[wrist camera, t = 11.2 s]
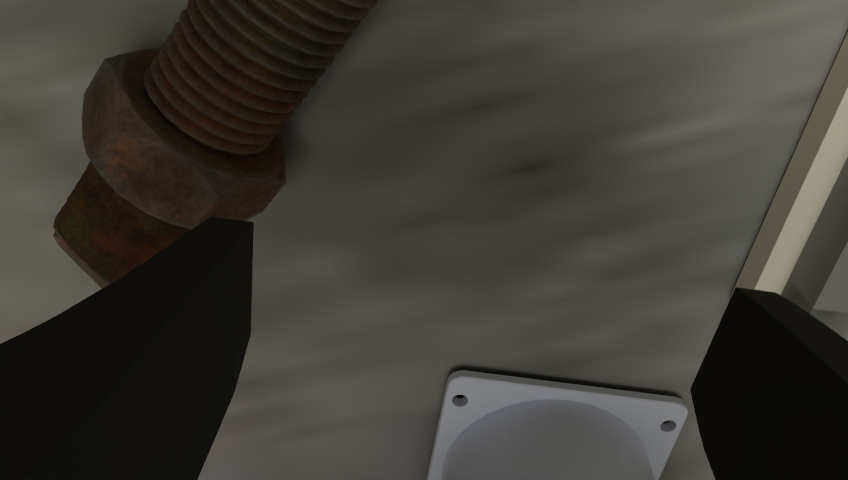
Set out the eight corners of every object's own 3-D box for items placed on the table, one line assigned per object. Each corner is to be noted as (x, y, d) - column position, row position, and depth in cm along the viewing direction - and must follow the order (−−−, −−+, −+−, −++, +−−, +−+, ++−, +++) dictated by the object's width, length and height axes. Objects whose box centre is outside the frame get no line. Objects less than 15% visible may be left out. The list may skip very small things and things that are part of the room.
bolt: (135, 176, 23) (443, -286, 16) (235, 298, 22) (600, -135, 15) (-52, 203, 17) (287, -463, 11) (68, 365, 17) (513, -248, 10)
